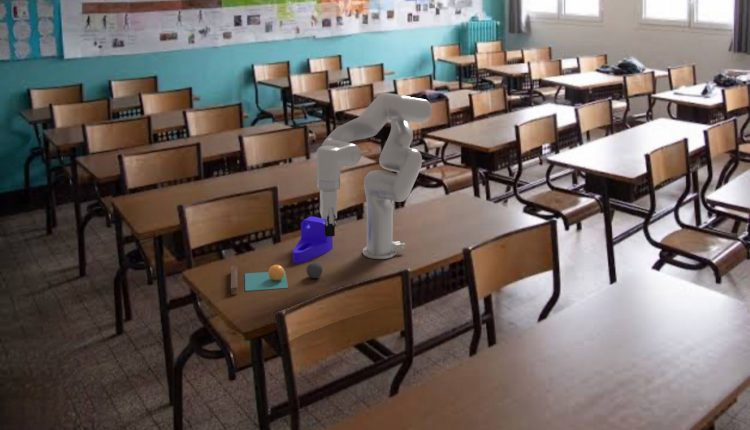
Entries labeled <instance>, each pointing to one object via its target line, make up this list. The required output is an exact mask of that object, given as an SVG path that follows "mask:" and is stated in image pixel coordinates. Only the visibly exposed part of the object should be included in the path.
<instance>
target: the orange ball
mask: <svg viewBox="0 0 750 430" xmlns="http://www.w3.org/2000/svg"><path fill="white" fill-rule="evenodd" d="M285 271H286V270H285V269H284V267H283V266H281V265H280V264H274V265H271V266H270V267H269V269H268V271H267V272H268V275H269V277H270V278H271V279H272V280H274V281H279V280H281V279H282V278H283V277H284V274H285Z"/></svg>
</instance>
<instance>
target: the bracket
mask: <svg viewBox="0 0 750 430" xmlns="http://www.w3.org/2000/svg"><path fill="white" fill-rule="evenodd" d="M333 244H334V243H333V236H330V237H326V236H325V219H324V220H323V219H322V217H317V216H308V217H307V218H305V219H303V220H302V221H301V222H300V239H299V241H298V242H297V244H296V245H295V247H294V248H293V250H292V263H294V264H302V263H305V262H308V261H310V260H312V259H315V258H317V257H320V256H322V255H323V256H324V255H325V254H328V253H329V252H330V251H332V250H333V247H334V246H333Z"/></svg>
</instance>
